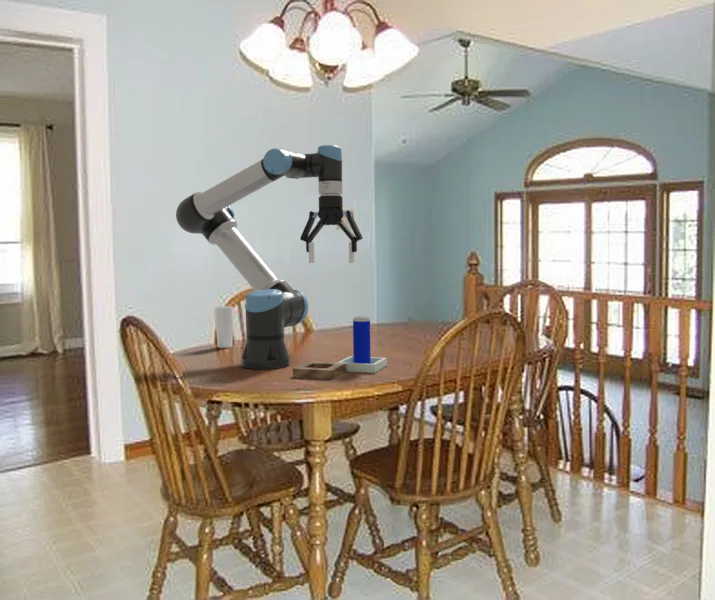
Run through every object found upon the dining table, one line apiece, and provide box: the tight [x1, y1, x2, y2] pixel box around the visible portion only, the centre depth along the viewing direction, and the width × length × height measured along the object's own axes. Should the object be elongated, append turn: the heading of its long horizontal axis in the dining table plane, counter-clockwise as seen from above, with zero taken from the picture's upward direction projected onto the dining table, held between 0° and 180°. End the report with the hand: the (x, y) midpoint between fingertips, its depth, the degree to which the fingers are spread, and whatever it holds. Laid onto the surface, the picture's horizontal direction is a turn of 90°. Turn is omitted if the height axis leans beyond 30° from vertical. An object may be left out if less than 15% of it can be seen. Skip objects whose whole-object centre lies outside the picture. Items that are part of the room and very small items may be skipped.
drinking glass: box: [214, 305, 234, 349], centre depth 256 cm, size 7×7×15 cm
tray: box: [336, 355, 388, 374], centre depth 212 cm, size 12×12×2 cm
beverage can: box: [352, 316, 371, 364], centre depth 211 cm, size 5×5×15 cm
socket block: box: [292, 360, 347, 380], centre depth 203 cm, size 12×12×2 cm
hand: (331, 262), depth 222 cm, fingers open, 13 cm apart
